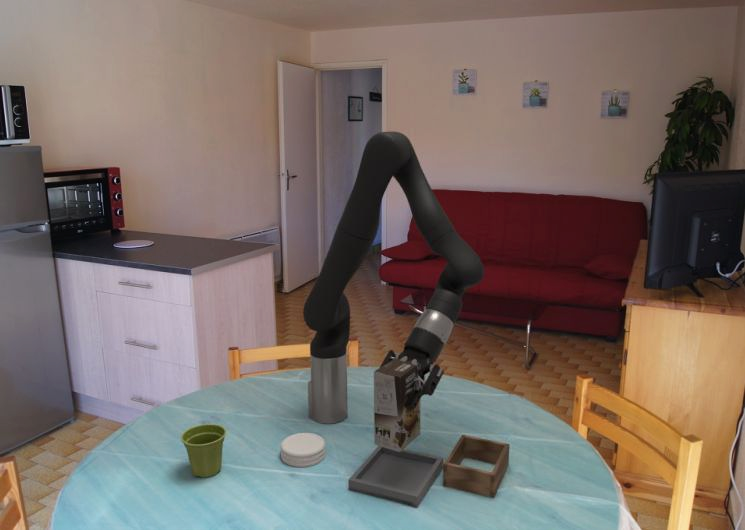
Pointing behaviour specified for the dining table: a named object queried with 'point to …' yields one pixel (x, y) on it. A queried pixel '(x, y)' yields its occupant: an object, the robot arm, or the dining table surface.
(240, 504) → the dining table surface
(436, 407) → the dining table surface
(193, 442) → the plant pot
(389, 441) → the coffee box
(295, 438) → the coaster
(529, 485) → the dining table surface
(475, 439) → the wooden frame
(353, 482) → the tray
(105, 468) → the dining table surface
